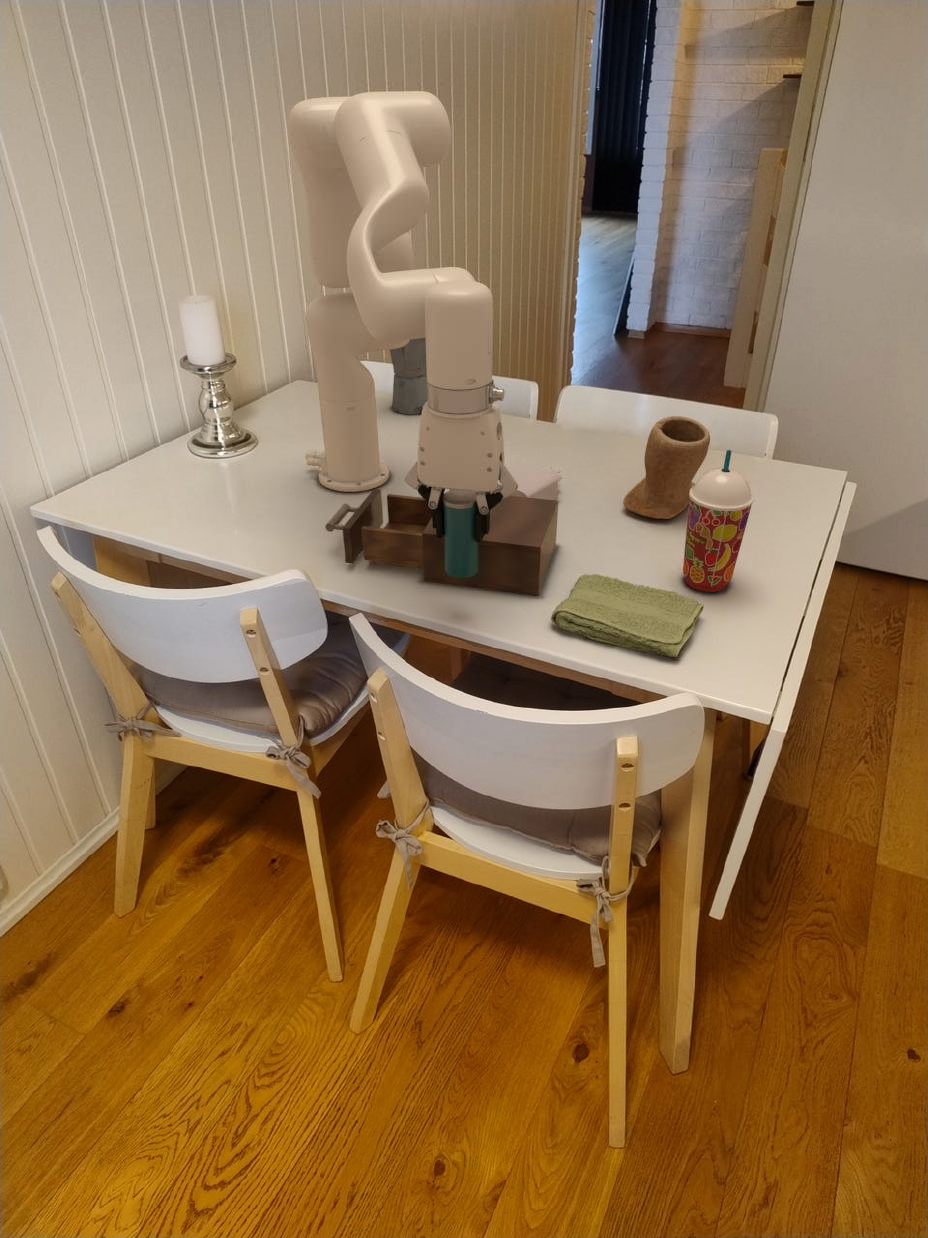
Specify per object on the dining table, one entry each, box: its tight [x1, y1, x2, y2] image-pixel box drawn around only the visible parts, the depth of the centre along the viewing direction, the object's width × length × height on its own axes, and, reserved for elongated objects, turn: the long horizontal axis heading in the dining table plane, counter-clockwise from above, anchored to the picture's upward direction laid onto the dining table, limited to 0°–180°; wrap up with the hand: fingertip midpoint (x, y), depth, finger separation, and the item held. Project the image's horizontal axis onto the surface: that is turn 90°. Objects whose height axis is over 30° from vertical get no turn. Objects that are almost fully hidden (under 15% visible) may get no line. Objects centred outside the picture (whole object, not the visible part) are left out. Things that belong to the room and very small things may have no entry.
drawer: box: [324, 488, 432, 569], centre depth 126 cm, size 20×14×6 cm
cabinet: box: [422, 489, 559, 596], centre depth 123 cm, size 17×15×8 cm
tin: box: [442, 489, 478, 578], centre depth 107 cm, size 5×5×10 cm
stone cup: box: [622, 415, 711, 520], centre depth 137 cm, size 15×12×15 cm
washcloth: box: [550, 573, 705, 658], centre depth 111 cm, size 13×18×3 cm
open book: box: [491, 463, 563, 500], centre depth 142 cm, size 5×9×15 cm
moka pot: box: [389, 338, 428, 416], centre depth 176 cm, size 10×15×20 cm, turn 171°
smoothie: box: [682, 449, 755, 593], centre depth 114 cm, size 8×8×20 cm
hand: (461, 534), depth 107 cm, fingers closed on tin, 4 cm apart
